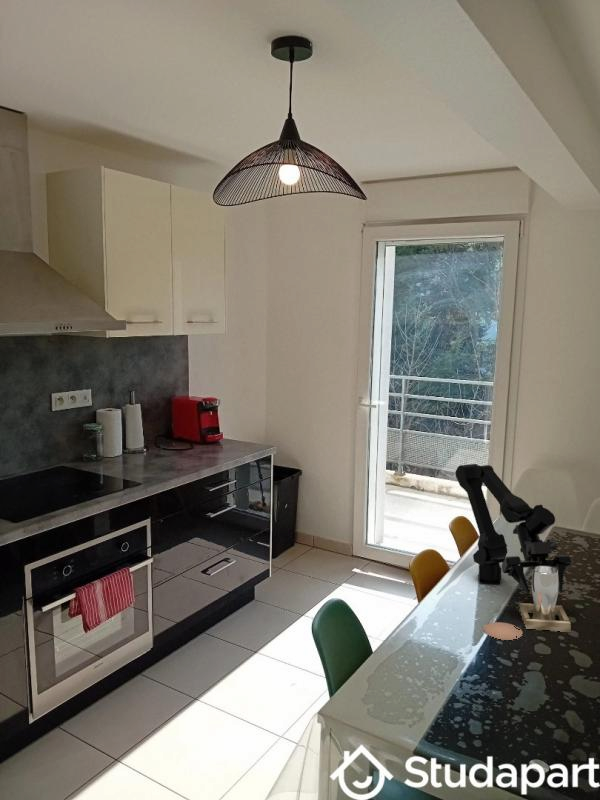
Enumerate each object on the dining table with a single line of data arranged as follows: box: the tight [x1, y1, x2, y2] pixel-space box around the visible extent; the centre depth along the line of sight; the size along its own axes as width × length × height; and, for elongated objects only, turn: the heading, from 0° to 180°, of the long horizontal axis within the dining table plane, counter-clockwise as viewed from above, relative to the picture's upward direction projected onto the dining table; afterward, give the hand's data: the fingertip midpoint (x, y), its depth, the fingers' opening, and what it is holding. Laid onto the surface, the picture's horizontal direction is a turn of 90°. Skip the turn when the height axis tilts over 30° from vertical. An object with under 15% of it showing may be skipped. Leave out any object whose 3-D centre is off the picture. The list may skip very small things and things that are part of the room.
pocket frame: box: [519, 602, 572, 633], centre depth 177 cm, size 11×11×2 cm
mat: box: [483, 621, 523, 641], centre depth 171 cm, size 10×10×1 cm
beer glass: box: [531, 565, 559, 621], centre depth 176 cm, size 7×7×15 cm
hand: (544, 592), depth 176 cm, fingers open, 9 cm apart
